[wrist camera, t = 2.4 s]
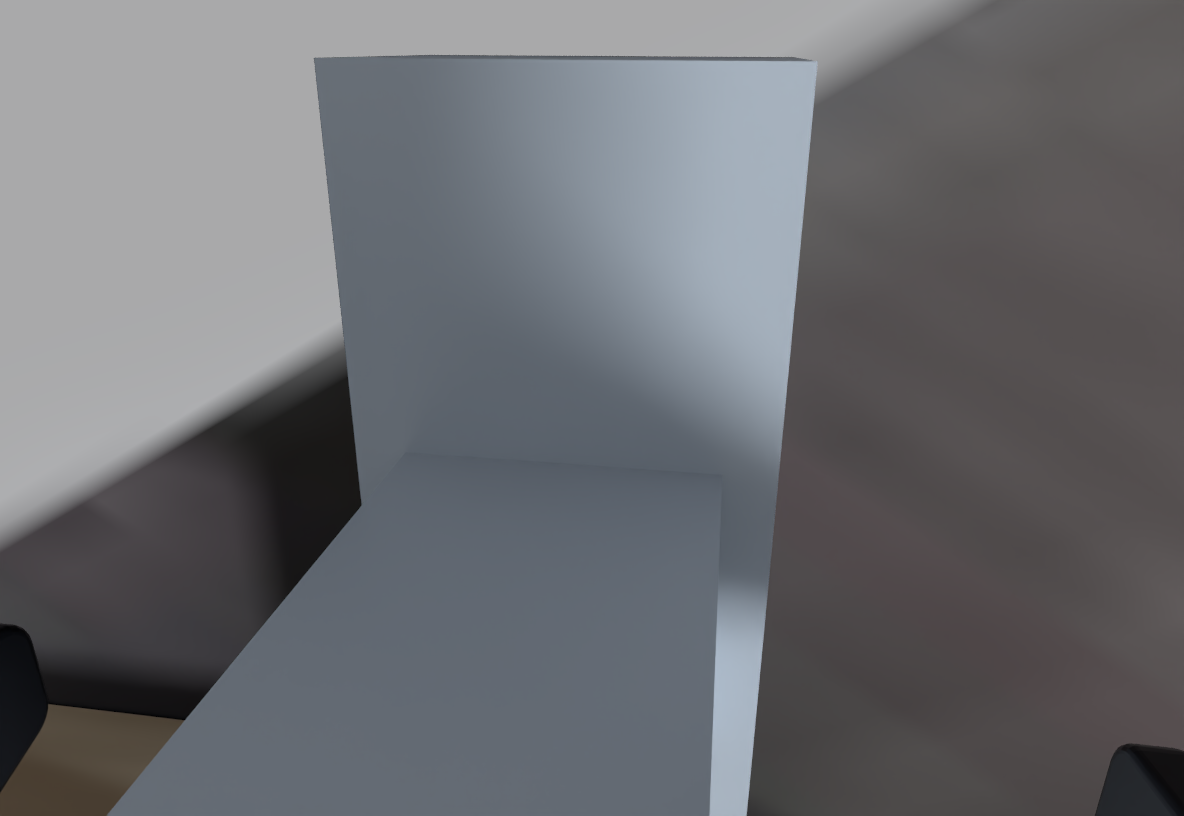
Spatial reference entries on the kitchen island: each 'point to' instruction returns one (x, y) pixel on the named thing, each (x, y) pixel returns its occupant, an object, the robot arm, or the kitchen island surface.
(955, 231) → the kitchen island surface
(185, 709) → the kitchen island surface
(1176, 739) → the kitchen island surface
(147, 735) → the oak corral
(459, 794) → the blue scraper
